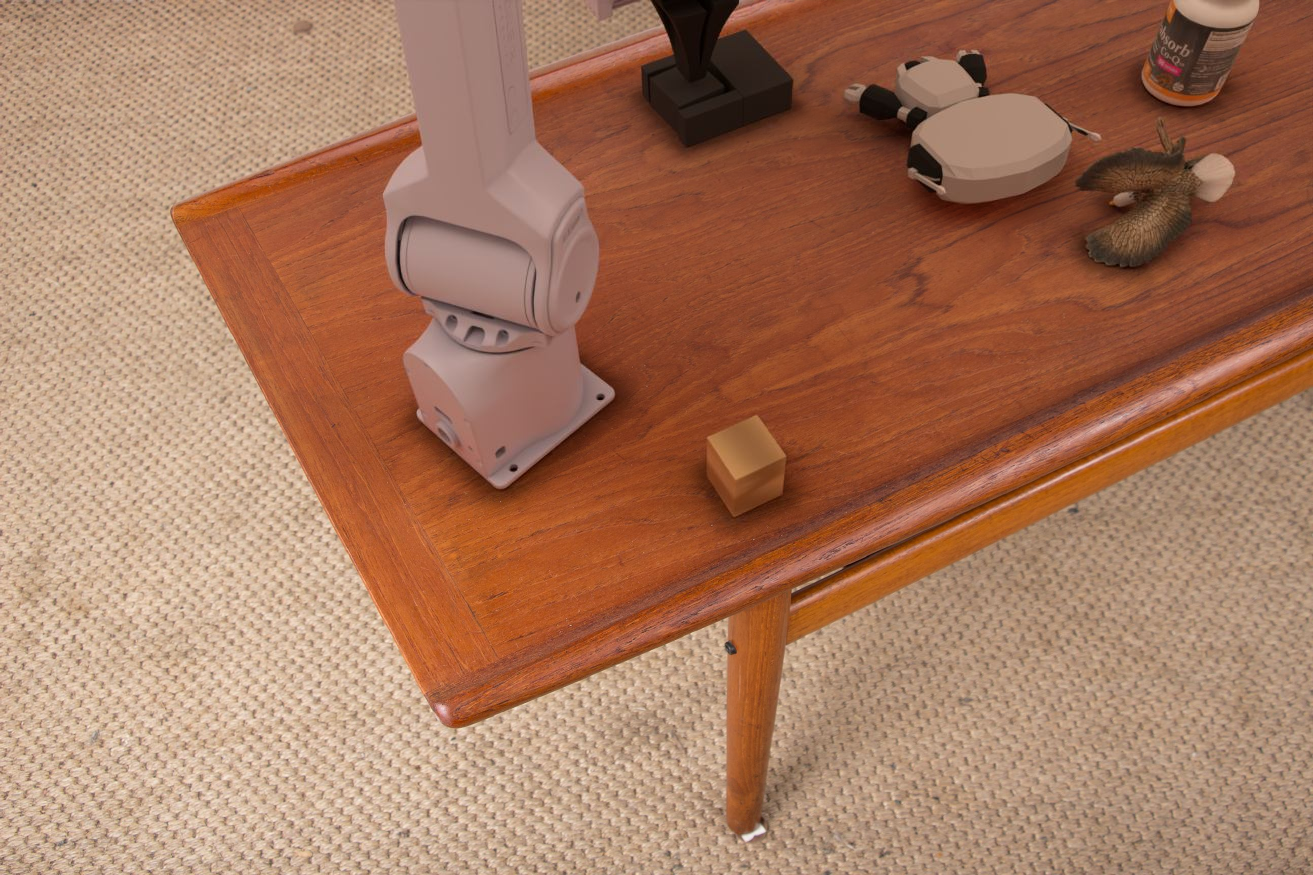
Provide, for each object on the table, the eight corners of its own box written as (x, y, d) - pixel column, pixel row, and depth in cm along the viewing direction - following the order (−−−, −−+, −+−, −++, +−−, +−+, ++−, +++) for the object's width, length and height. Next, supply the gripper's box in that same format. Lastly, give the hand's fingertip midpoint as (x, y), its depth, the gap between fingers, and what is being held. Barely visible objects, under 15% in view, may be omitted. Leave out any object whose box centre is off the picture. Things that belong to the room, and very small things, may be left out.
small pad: (679, 135, 79) (679, 106, 77) (650, 107, 81) (649, 78, 79) (724, 115, 80) (724, 86, 78) (694, 87, 82) (694, 58, 80)
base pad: (685, 148, 78) (684, 119, 76) (642, 94, 82) (640, 65, 80) (791, 108, 80) (793, 79, 78) (744, 58, 84) (745, 28, 82)
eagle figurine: (1110, 144, 75) (1041, 188, 71) (1201, 91, 69) (1132, 136, 64) (1165, 238, 75) (1100, 288, 71) (1261, 194, 69) (1196, 245, 65)
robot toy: (829, 124, 80) (939, 243, 72) (833, 70, 77) (948, 189, 68) (970, 78, 83) (1093, 188, 74) (980, 24, 79) (1110, 133, 70)
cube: (733, 518, 60) (735, 480, 57) (706, 476, 62) (706, 436, 59) (782, 495, 61) (787, 456, 58) (754, 454, 63) (757, 414, 60)
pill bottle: (1124, 71, 82) (1171, -52, 73) (1191, 55, 82) (1244, -69, 74) (1166, 117, 78) (1220, -7, 70) (1235, 100, 79) (1296, -24, 71)
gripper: (757, -170, 71) (750, 14, 82) (556, -109, 67) (577, 74, 78) (815, -122, 67) (799, 64, 78) (605, -55, 64) (620, 129, 75)
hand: (691, 73), depth 78 cm, fingers closed
